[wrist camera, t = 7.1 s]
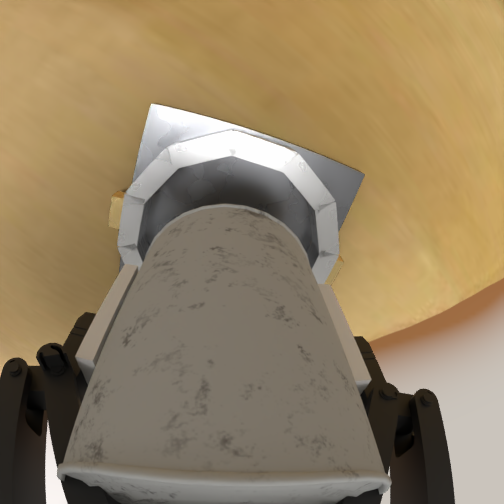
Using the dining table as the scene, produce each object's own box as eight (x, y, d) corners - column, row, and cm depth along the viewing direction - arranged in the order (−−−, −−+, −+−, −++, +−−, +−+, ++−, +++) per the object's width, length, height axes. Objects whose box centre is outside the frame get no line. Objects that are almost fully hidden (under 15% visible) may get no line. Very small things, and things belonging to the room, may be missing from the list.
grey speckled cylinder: (241, 164, 13) (263, 435, 2) (338, 293, 17) (416, 485, 6) (112, 271, 16) (21, 466, 5) (218, 361, 19) (215, 532, 9)
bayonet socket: (110, 283, 24) (99, 303, 22) (141, 100, 17) (127, 100, 15) (293, 329, 28) (298, 351, 25) (371, 176, 21) (388, 187, 18)
